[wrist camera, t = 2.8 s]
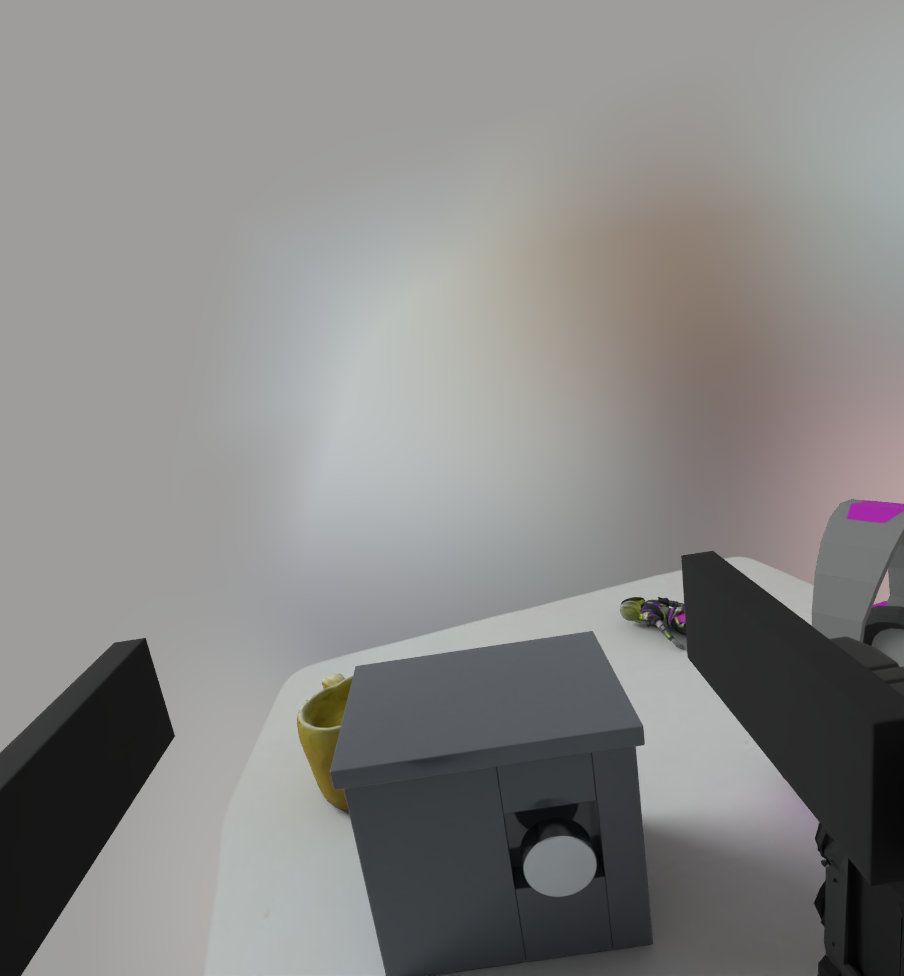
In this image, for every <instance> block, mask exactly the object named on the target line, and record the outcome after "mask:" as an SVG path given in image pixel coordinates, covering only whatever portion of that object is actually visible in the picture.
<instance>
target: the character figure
mask: <svg viewBox="0 0 904 976" xmlns="http://www.w3.org/2000/svg"><path fill="white" fill-rule="evenodd" d="M658 598H659V600H648V601H646V602H644V601H645V600H644V598H641V597H633V598H629V599H626V600H624V601H623V602H622V603H621V609H620V610H621V615H622V616H623V618H625V619H626V620H629V621H635V622H639V621H640V622H639V623H642V622H641V621H644V622H645V623H647V622H649V623H650V624H649V625H648V626H655V627H658V628H659V629H660V631H661V632H662V633H663V634H664V635H665V636H666V637H667V638H668V640H670V641H672V642H673V643H674V644H675V645H676V646H677V647H678V648H680V649H685V648H684V647H683V646H681V645H683V644H680V643H678V641H677V640H676V639H675V638H674V637H673V636H672V634H671V633H670V631H669V630H668V628H667V626H672V627H673V628H674V629H676V630H677V631H679V632H681V633H684V634H686V621H685V605H684V604H683V603H678V602H677V601H676V602H675V601H670V600H668V598H660V597H658ZM669 606H671V607H672V609H671V608H669ZM677 607H678V608H677ZM636 620H637V621H636ZM646 621H647V622H646Z"/></svg>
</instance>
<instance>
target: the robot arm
mask: <svg viewBox="0 0 904 976" xmlns="http://www.w3.org/2000/svg"><path fill="white" fill-rule="evenodd" d="M681 557H682V573H683V589H684V605H685V621H686V637H687V653H688V658H689V660H690V661H691V662H692V663H693V665H694V666H695V667H696V668H697V670H698V671H699V672H700V673H701V675H702V676H703V677H704V678H705V680H706V681H707V682H708V683H709V685H710V686H711V687H712V688H713V690H714V691H715V692H716V693H717V695H718V696H719V697H720V698H721V700H722V701H723V702H724V703H725V705H726V706H727V707H728V708H729V710H730V711H731V712H732V713H733V715H734V716H735V717H736V718H737V720H738V721H739V722H740V723H741V725H742V726H743V727H744V728H745V730H746V731H747V732H748V733H749V735H750V736H751V737H752V738H753V740H754V741H755V742H756V743H757V745H758V746H759V747H760V748H761V749H762V751H763V752H764V753H765V754H766V756H767V757H768V758H769V759H770V761H771V762H772V763H773V764H774V766H775V767H776V768H777V769H778V771H779V772H780V773H781V774H782V776H783V777H784V778H785V779H786V781H787V782H788V783H789V784H790V786H791V787H792V788H793V789H794V791H795V792H796V793H797V794H798V796H799V797H800V798H801V799H802V801H803V802H804V803H805V804H806V806H807V807H808V808H809V809H810V811H811V812H812V813H813V814H814V816H815V817H816V818H817V819H818V821H819V822H820V823H821V824H822V826H823V827H824V828H825V829H826V831H827V832H828V833H829V834H830V836H831V837H832V838H833V839H834V841H835V842H836V843H837V844H838V846H839V847H840V848H841V849H842V851H843V852H844V853H845V854H846V856H847V857H848V858H849V859H850V861H851V862H852V863H853V864H854V866H855V867H856V868H857V869H858V871H859V872H860V873H861V874H862V876H863V877H864V878H865V879H866V880H867V882H868V883H869V884H870V885H871V886H874V885H880V884H887V883H894V882H900V881H904V667H903V666H902V667H899V665H898V663H897V662H896V661H894V660H893V659H891V658H890V657H888V656H887V655H886V654H884V653H883V652H881V651H880V650H878V649H877V648H875V647H873V646H870V645H867V644H865V643H862V642H860V641H857V640H855V639H852V638H850V637H847V636H845V637H839V638H832V639H828V638H827V637H826V636H824V635H823V634H822V633H820V632H819V631H818V630H816V629H815V628H814V627H812V626H811V625H810V624H808V623H807V622H806V621H805V620H803V619H802V618H801V617H799V616H798V615H797V614H795V613H794V612H793V611H791V610H790V609H789V608H787V607H786V606H785V605H783V604H782V603H781V602H779V601H778V600H777V599H776V598H774V597H773V596H772V595H770V594H769V593H768V592H766V591H765V590H764V589H762V588H761V587H760V586H758V585H757V584H756V583H754V582H753V581H752V580H750V579H749V578H748V577H747V576H745V575H744V574H743V573H741V572H740V571H739V570H737V569H736V568H735V567H733V566H732V565H731V564H729V563H728V562H727V561H725V560H724V559H723V558H721V557H720V556H719V555H717V554H716V553H715V552H714V551H709V552H703V553H696V554H690V555H683V556H681ZM174 737H175V735H174V732H173V728H172V725H171V722H170V718H169V715H168V711H167V708H166V705H165V701H164V698H163V695H162V691H161V688H160V685H159V681H158V678H157V675H156V672H155V668H154V665H153V661H152V658H151V655H150V651H149V648H148V645H147V641H146V638H143V639H136V640H129V641H123V642H116V643H114V644H113V645H112V646H111V647H110V648H109V649H108V650H107V651H106V652H104V653H103V654H102V655H101V656H100V657H99V658H98V659H97V660H96V661H95V662H94V663H93V664H92V665H91V666H90V667H89V668H88V669H87V670H86V671H85V672H84V673H83V674H82V675H81V676H79V677H78V678H77V679H76V680H75V682H73V683H72V684H71V685H70V686H69V687H68V688H67V689H66V690H65V691H64V692H63V693H62V694H61V695H60V696H59V697H58V698H57V699H56V700H55V701H54V702H53V703H52V704H51V705H49V706H48V707H47V708H46V710H44V711H43V712H42V713H41V714H40V715H39V716H38V717H37V718H36V719H35V720H34V721H33V722H32V723H31V724H30V725H29V726H28V727H27V728H26V729H25V730H24V731H23V732H22V733H20V734H19V735H18V737H16V738H15V739H14V740H13V741H12V742H11V743H10V744H9V745H8V746H7V747H6V748H5V749H4V750H3V751H2V752H1V753H0V976H21V975H22V973H23V972H24V970H25V969H26V967H27V965H28V964H29V962H30V961H31V959H32V958H33V956H34V955H35V953H36V951H37V950H38V948H39V947H40V945H41V944H42V942H43V940H44V939H45V937H46V936H47V934H48V933H49V931H50V929H51V928H52V926H53V925H54V923H55V922H56V920H57V919H58V917H59V916H60V914H61V912H62V911H63V909H64V908H65V906H66V905H67V903H68V902H69V900H70V898H71V897H72V895H73V894H74V892H75V891H76V889H77V888H78V886H79V884H80V883H81V881H82V880H83V878H84V877H85V875H86V874H87V872H88V870H89V869H90V867H91V866H92V864H93V863H94V861H95V860H96V858H97V856H98V855H99V853H100V852H101V850H102V849H103V847H104V845H105V844H106V842H107V841H108V839H109V838H110V836H111V835H112V833H113V832H114V830H115V828H116V827H117V825H118V824H119V822H120V821H121V819H122V817H123V816H124V814H125V813H126V811H127V810H128V808H129V807H130V805H131V804H132V802H133V800H134V799H135V797H136V795H137V794H138V793H139V791H140V789H141V788H142V786H143V785H144V783H145V782H146V780H147V779H148V777H149V775H150V774H151V772H152V771H153V769H154V768H155V766H156V765H157V763H158V761H159V760H160V758H161V757H162V755H163V754H164V752H165V751H166V749H167V747H168V746H169V744H170V743H171V741H172V740H173V738H174Z"/></svg>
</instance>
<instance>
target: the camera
mask: <svg viewBox="0 0 904 976" xmlns="http://www.w3.org/2000/svg"><path fill="white" fill-rule="evenodd" d="M815 840H816V843H817V846H818V851H820V854H821V856H822V857H824V858H825V859H826V860H822V861H821V864H822V865H823V866H824V867H825V866H826V880H825V882H824V883H823V885H822V886H821V888H820V890H819V892H818V895H817V897H816V899H815V902H814V905H815V907H816V909H817V911H818V913H819V915H820V918H821V923H822V924H823V926H824V927H825V934H824V944H825V949H826V954H827V956H826V955H825V956H824V957H823V958H822V960H821V961H820V962H819V963H818V976H904V881H900V882H894V883H887V884H880V885H874V886H871V885H870V884H869V883H868V882H867V880H866V879H865V878H864V877H863V876H862V874H861V873H860V872H859V871H858V869H857V868H856V867H855V866H854V864H853V863H852V862H851V861H850V859H849V858H848V857H847V856H846V854H845V853H844V852H843V851H842V849H841V848H840V847H839V846H838V844H837V843H836V842H835V841H834V839H833V838H832V837H831V836H830V834H829V833H828V832H827V831H826V829H825V828H824V827H823V826H822V824H821V823H819V826H818V830H817V833H816V837H815ZM830 862H831V863H830Z"/></svg>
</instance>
